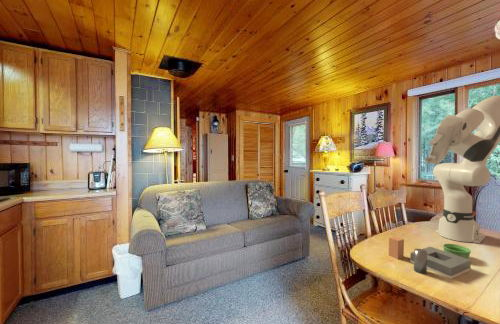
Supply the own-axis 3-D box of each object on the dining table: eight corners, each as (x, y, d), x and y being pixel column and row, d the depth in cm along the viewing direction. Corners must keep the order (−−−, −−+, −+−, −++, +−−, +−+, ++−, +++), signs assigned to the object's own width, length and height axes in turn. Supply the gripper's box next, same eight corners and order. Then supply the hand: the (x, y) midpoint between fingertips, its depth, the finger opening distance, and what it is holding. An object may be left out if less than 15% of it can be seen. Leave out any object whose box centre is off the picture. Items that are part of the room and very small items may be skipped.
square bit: (394, 253, 105) (394, 236, 105) (403, 257, 102) (403, 239, 101) (388, 255, 104) (389, 237, 103) (397, 259, 100) (398, 240, 99)
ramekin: (444, 251, 107) (445, 241, 107) (471, 257, 101) (472, 247, 100) (440, 257, 101) (441, 247, 101) (468, 264, 95) (469, 254, 95)
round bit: (417, 267, 93) (418, 247, 92) (429, 272, 89) (429, 251, 89) (411, 270, 91) (412, 249, 91) (422, 274, 87) (423, 254, 87)
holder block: (429, 255, 103) (430, 246, 103) (470, 270, 90) (470, 259, 90) (410, 262, 97) (410, 252, 97) (450, 278, 84) (451, 268, 84)
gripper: (436, 150, 103) (416, 167, 100) (448, 111, 89) (425, 129, 86) (452, 156, 98) (432, 175, 95) (468, 116, 85) (444, 136, 82)
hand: (429, 153), depth 91 cm, fingers open, 8 cm apart
